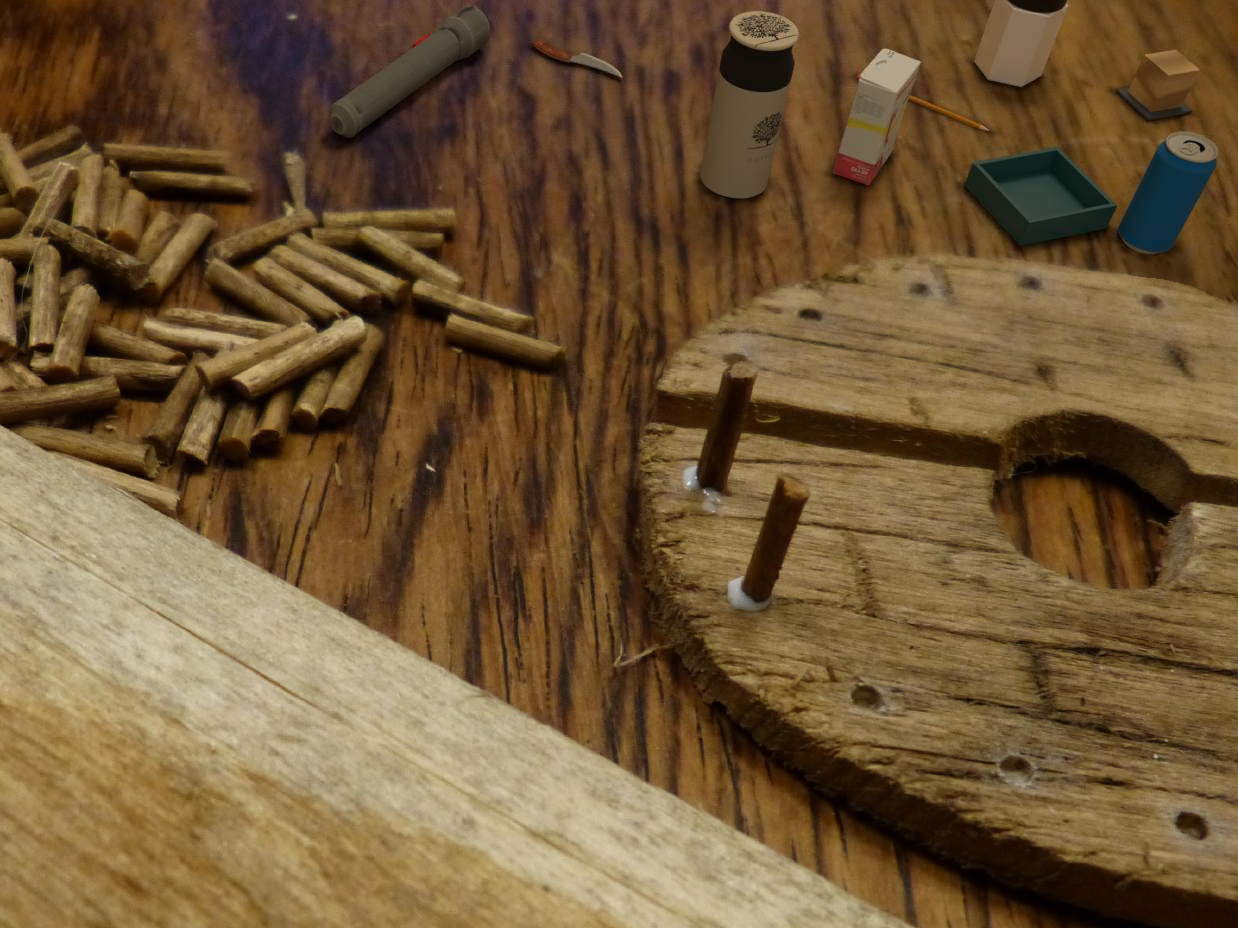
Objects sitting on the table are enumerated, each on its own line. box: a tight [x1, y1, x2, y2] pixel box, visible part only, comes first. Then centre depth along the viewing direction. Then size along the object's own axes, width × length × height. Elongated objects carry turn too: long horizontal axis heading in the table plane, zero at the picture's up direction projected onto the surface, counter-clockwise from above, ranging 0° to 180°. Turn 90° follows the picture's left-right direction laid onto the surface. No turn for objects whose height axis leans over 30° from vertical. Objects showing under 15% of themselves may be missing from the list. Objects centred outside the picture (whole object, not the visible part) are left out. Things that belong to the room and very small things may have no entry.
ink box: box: [832, 48, 922, 186], centre depth 149 cm, size 9×5×12 cm, turn 151°
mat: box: [1115, 86, 1193, 121], centre depth 166 cm, size 7×7×1 cm
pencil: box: [856, 73, 992, 133], centre depth 162 cm, size 19×1×1 cm, turn 54°
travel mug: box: [700, 10, 800, 199], centre depth 142 cm, size 8×8×18 cm
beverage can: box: [1117, 130, 1219, 255], centre depth 143 cm, size 6×6×12 cm
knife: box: [532, 39, 624, 79], centre depth 162 cm, size 13×1×3 cm
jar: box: [973, 0, 1069, 88], centre depth 163 cm, size 9×8×12 cm
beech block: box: [1128, 49, 1201, 112], centre depth 164 cm, size 5×5×5 cm
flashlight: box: [328, 5, 491, 139], centre depth 154 cm, size 5×28×5 cm
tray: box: [963, 146, 1118, 247], centre depth 149 cm, size 12×12×3 cm
